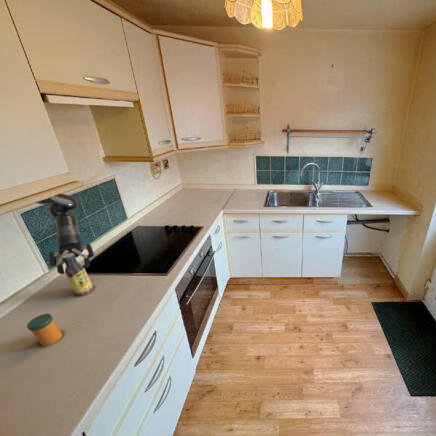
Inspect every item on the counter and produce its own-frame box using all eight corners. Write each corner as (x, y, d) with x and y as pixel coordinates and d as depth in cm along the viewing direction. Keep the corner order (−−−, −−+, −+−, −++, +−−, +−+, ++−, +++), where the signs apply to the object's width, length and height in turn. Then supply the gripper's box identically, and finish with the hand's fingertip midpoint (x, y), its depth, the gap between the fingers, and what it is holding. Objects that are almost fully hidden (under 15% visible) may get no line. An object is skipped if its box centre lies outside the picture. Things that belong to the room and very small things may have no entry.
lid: (31, 334, 76) (29, 330, 76) (27, 325, 79) (24, 322, 79) (55, 321, 81) (53, 318, 80) (50, 314, 84) (48, 311, 83)
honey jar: (43, 349, 80) (30, 331, 76) (39, 341, 83) (26, 323, 79) (64, 337, 84) (52, 319, 80) (59, 329, 87) (48, 312, 83)
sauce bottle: (87, 296, 103) (68, 260, 94) (72, 296, 102) (52, 260, 94) (97, 285, 109) (80, 251, 100) (83, 286, 108) (65, 251, 100)
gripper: (43, 238, 98) (48, 274, 94) (85, 230, 105) (92, 263, 101) (52, 243, 104) (57, 277, 100) (91, 235, 111) (97, 266, 107)
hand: (74, 270), depth 101 cm, fingers open, 8 cm apart
